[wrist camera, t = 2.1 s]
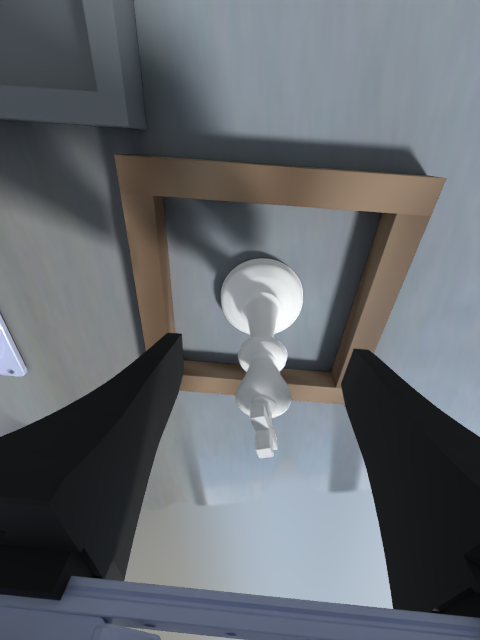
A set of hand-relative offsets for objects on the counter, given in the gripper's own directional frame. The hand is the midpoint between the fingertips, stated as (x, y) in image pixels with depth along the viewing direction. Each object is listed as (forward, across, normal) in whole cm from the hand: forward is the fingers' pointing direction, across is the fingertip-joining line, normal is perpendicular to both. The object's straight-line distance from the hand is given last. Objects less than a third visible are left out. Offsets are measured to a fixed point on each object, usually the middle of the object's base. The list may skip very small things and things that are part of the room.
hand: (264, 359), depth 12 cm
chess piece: (+6, 0, 0) cm, 6 cm away
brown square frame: (+6, 0, 0) cm, 6 cm away
